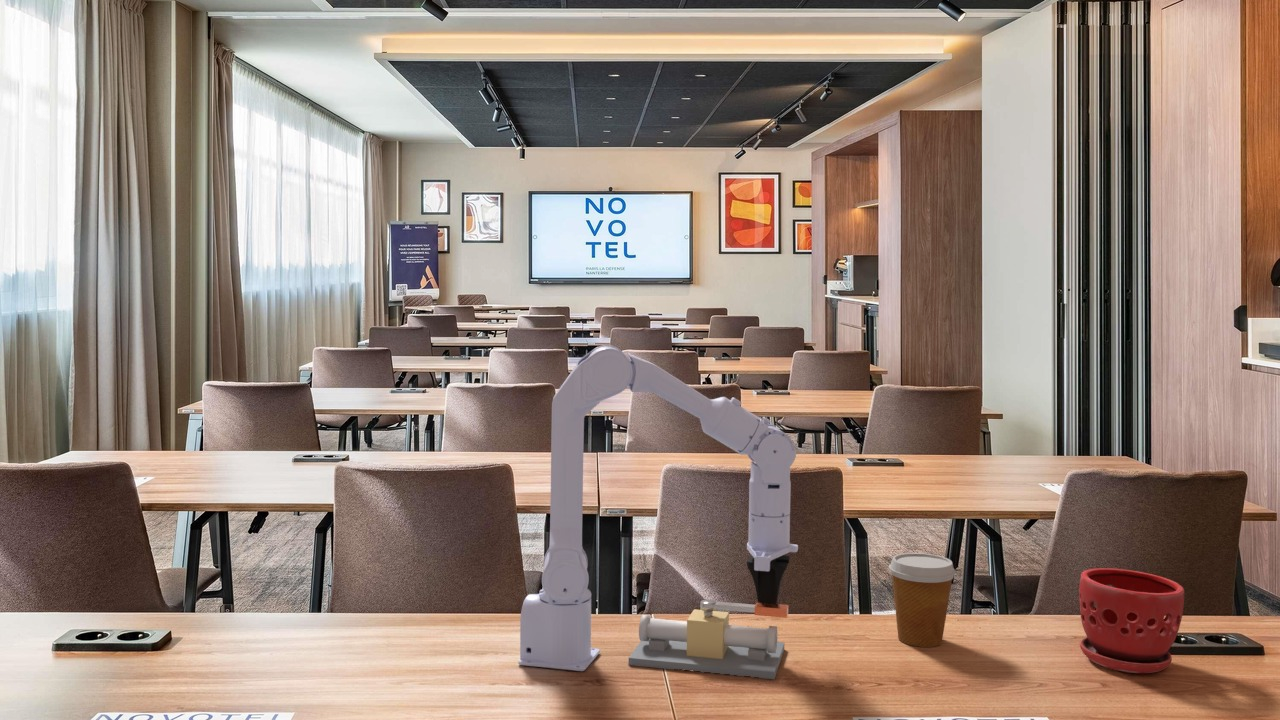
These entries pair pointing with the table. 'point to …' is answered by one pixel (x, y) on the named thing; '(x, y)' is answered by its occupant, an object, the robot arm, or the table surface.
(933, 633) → the disposable coffee cup
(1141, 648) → the plant pot
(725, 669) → the valve board
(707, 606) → the valve lever
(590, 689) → the table surface
